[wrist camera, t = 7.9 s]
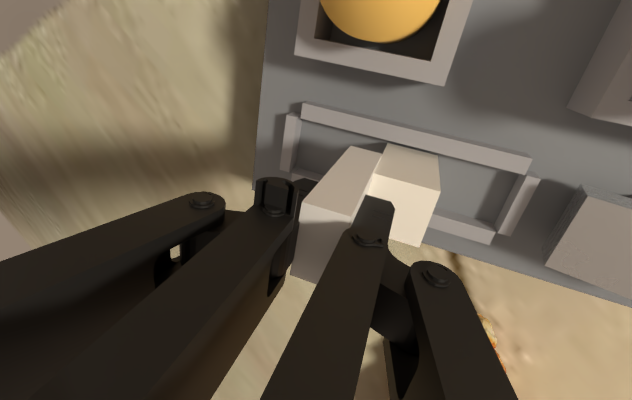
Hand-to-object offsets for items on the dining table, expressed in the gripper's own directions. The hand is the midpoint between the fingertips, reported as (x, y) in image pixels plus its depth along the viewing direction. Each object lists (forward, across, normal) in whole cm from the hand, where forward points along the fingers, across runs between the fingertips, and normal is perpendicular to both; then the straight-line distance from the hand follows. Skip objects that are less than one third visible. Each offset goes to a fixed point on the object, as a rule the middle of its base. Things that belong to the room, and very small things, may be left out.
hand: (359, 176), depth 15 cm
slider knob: (+3, -2, 0) cm, 3 cm away
